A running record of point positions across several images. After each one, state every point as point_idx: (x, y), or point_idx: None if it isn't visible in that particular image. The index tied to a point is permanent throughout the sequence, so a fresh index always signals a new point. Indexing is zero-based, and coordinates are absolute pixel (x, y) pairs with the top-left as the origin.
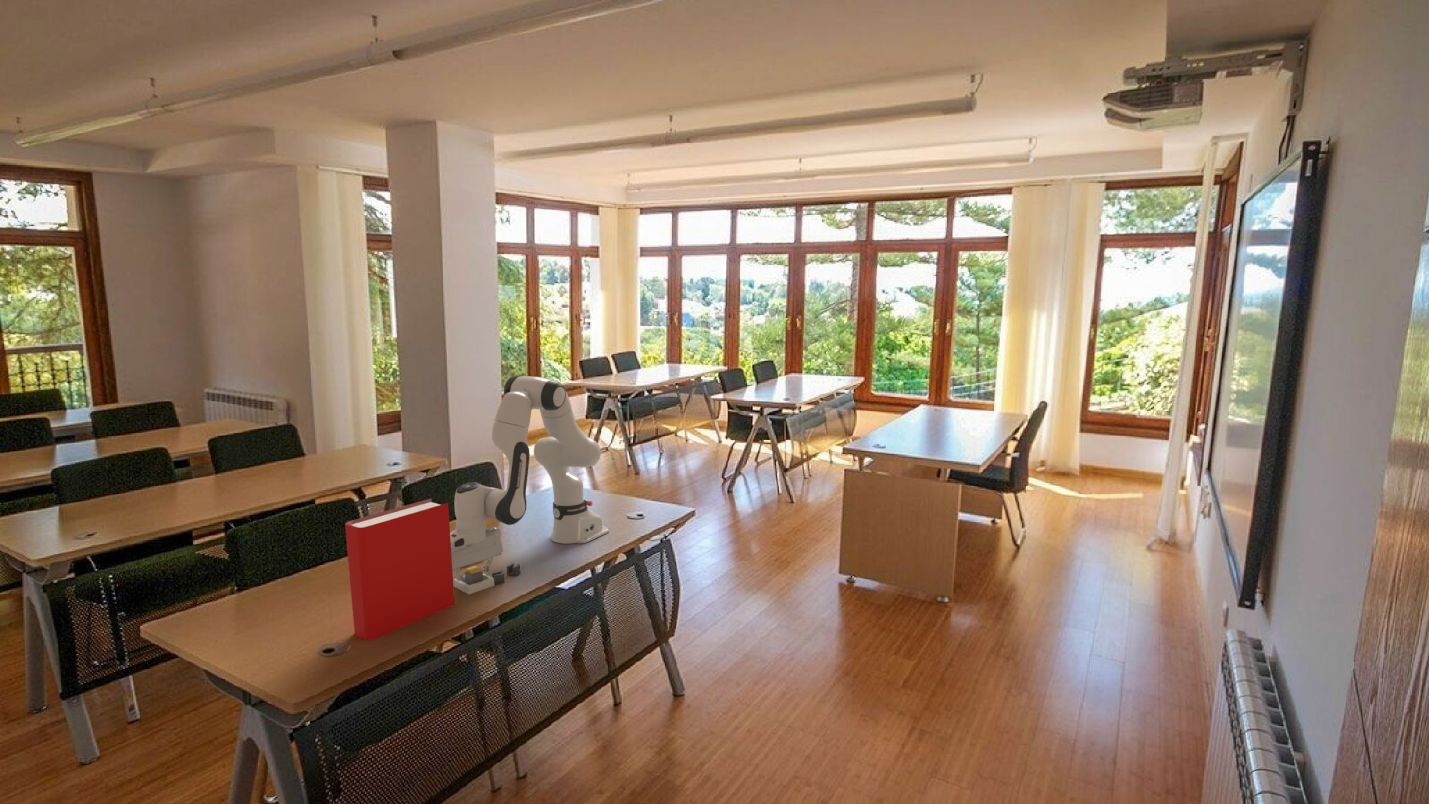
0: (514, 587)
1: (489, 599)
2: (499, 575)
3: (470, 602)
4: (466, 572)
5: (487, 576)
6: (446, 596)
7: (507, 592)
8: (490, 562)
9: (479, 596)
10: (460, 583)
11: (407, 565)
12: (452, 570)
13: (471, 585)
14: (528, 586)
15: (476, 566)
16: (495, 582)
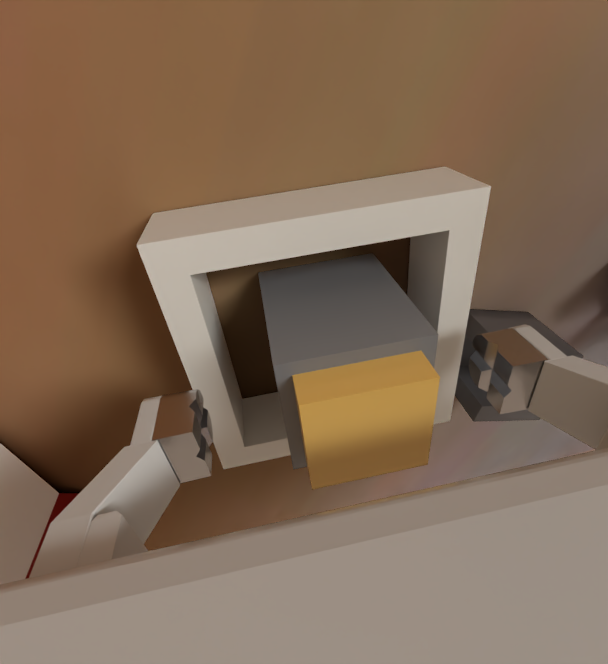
0: (476, 446)
1: (300, 505)
2: (503, 416)
3: (199, 500)
4: (280, 400)
5: (443, 372)
6: None
7: (411, 477)
8: (584, 440)
9: (272, 462)
10: (188, 376)
11: None
12: (53, 527)
13: (255, 458)
14: (522, 463)
15: (431, 406)
16: None
